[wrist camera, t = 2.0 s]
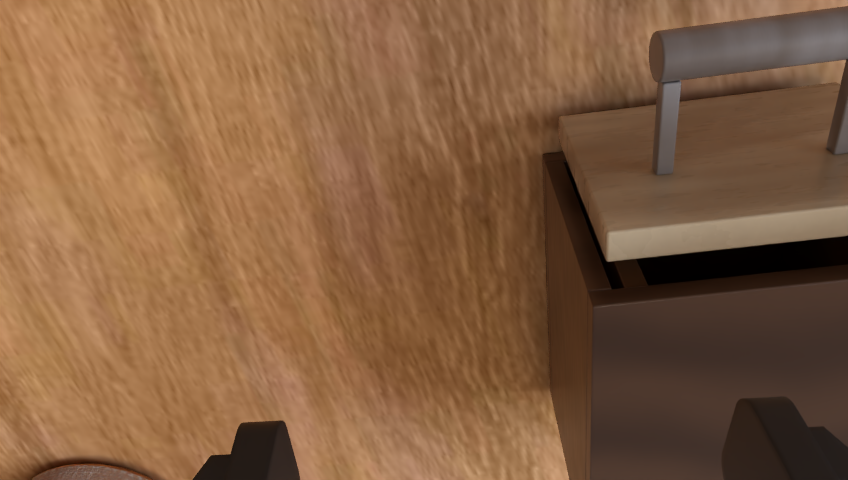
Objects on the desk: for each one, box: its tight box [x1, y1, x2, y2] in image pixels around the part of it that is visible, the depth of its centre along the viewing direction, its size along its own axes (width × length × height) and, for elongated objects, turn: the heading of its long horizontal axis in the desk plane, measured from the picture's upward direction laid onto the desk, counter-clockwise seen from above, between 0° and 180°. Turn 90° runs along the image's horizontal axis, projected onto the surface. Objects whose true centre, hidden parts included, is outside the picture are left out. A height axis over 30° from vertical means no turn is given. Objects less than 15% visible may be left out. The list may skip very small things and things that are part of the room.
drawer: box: [559, 6, 848, 289], centre depth 27 cm, size 20×11×9 cm, turn 7°
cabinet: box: [543, 152, 848, 480], centre depth 30 cm, size 16×13×11 cm
